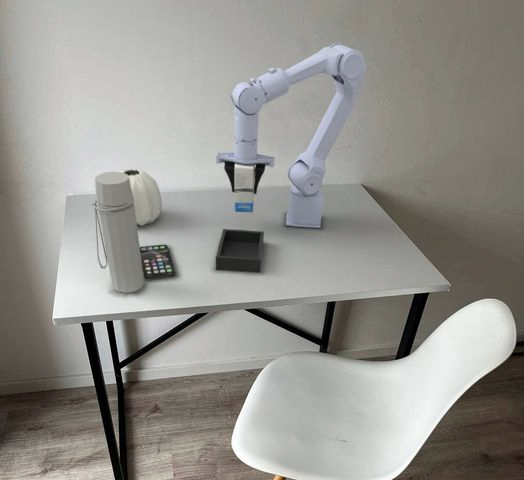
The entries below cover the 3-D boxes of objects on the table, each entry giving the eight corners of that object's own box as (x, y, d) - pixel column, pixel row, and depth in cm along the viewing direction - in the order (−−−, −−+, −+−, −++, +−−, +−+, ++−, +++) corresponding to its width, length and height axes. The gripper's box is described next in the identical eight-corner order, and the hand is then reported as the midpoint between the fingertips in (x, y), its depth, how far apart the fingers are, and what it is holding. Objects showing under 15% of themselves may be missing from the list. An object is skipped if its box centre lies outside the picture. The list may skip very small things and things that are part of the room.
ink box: (252, 213, 134) (254, 168, 126) (233, 212, 134) (234, 167, 126) (254, 199, 140) (255, 156, 133) (236, 198, 140) (236, 154, 133)
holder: (263, 243, 135) (264, 231, 133) (259, 272, 124) (260, 260, 122) (223, 241, 135) (223, 228, 133) (216, 269, 124) (215, 257, 122)
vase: (102, 217, 142) (94, 169, 134) (146, 205, 150) (141, 158, 141) (128, 236, 135) (121, 186, 126) (173, 222, 142) (169, 174, 134)
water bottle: (145, 276, 120) (132, 170, 104) (143, 295, 115) (129, 185, 98) (105, 277, 119) (85, 170, 103) (101, 296, 113) (80, 186, 97)
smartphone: (167, 244, 131) (176, 274, 120) (167, 246, 132) (176, 276, 121) (137, 247, 129) (144, 277, 118) (137, 249, 130) (144, 280, 119)
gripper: (276, 134, 129) (273, 187, 138) (218, 130, 129) (219, 183, 138) (274, 144, 123) (271, 198, 132) (214, 140, 124) (215, 194, 132)
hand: (244, 191), depth 135 cm, fingers closed on ink box, 5 cm apart
